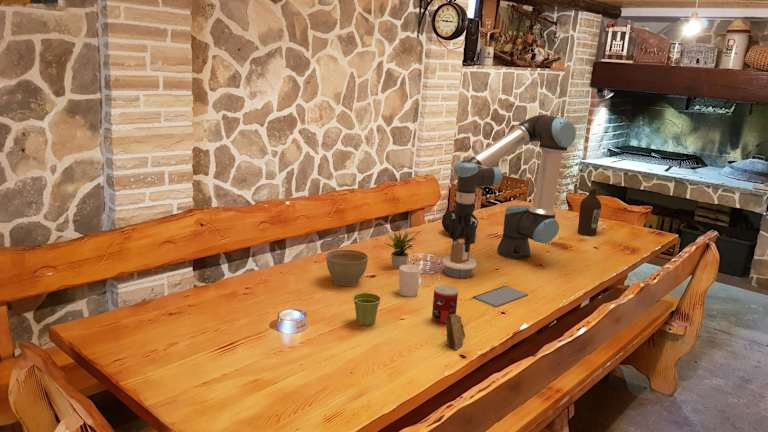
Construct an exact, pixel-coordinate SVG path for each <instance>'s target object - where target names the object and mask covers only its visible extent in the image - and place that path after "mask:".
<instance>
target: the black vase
mask: <svg viewBox="0 0 768 432" xmlns="http://www.w3.org/2000/svg"><path fill="white" fill-rule="evenodd" d="M455 212H456V211H455V207H454V208H453V209H451V210H447V211H445V212H444V213H443V215H442V219H441V225H442V229H443V230H444V232H446V233H447V234H448V235H449V229H450V218H449V215H450V214H455ZM473 219H474V220H476V221H478V219H477V217H476V215H475V214H473ZM470 223H471V222H470ZM470 225H471V224H470ZM478 226H479V223H478V224H477V227H476V230H477V228H478ZM459 238H464V228H463V225H462V227H461V231H460V235H459Z"/></svg>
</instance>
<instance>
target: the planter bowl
mask: <svg viewBox="0 0 768 432" xmlns="http://www.w3.org/2000/svg"><path fill="white" fill-rule="evenodd" d="M325 258H326V268H327V270H328V273H329V274H330V277H331V278H332V280H333V282H334V284H335V285H338V286H342V287H353V286H357V285H358V283H359V282H360V281H359V280H361V278H363V276H364V274H365V272H366V269H367V267H368V266H367V265H368V261H369V255H368V254H367V253H366V252H364V251H361V250H355V249H335V250H331V251H328V252H327V253H326V255H325Z"/></svg>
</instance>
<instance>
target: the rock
mask: <svg viewBox="0 0 768 432" xmlns="http://www.w3.org/2000/svg"><path fill="white" fill-rule="evenodd" d="M445 328H446V346H448V347H449V348H450V349H452V350H453V351H456V352H458V350H460V348H461V347H463V345H464V338H465V337H466V333H465V331H464V330H465V329H464V325H463V323H462V316H460V315H458V314H457V313H456V314H451V315H446V324H445Z"/></svg>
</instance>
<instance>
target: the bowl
mask: <svg viewBox="0 0 768 432" xmlns="http://www.w3.org/2000/svg"><path fill="white" fill-rule="evenodd" d="M473 270H474V268H473V269H468V270H460V269H453V268H449V267H447V266H445V265H444V274H445V275H446V276H449V277H451V278H454V279H455V278H456V279H467V278H470V277H472V276H473Z"/></svg>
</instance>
